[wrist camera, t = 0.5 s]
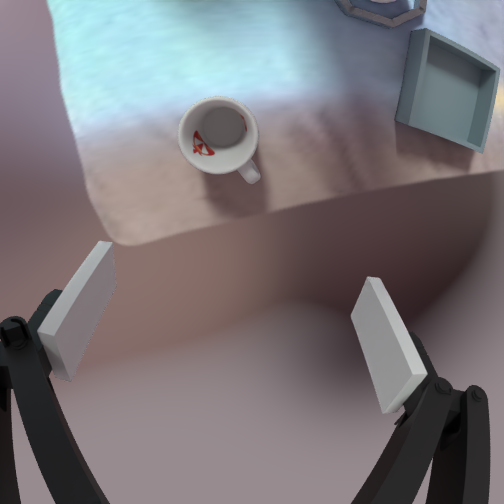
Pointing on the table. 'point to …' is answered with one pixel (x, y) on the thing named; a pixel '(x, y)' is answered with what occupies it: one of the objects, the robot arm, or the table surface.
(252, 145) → the cup
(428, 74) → the bin
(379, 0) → the beverage can
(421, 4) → the collar
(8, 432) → the robot arm
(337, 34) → the table surface
